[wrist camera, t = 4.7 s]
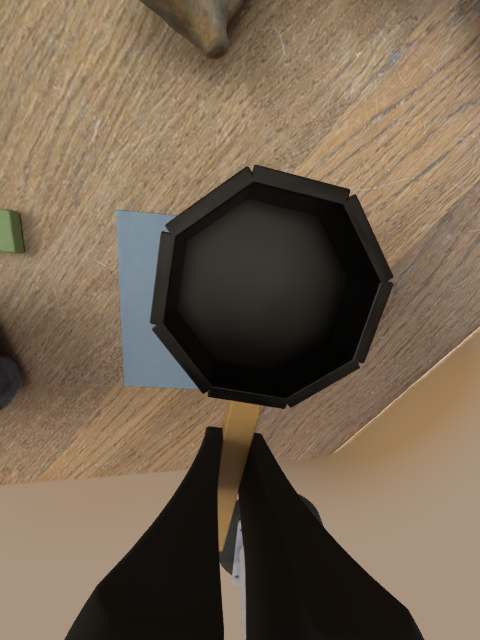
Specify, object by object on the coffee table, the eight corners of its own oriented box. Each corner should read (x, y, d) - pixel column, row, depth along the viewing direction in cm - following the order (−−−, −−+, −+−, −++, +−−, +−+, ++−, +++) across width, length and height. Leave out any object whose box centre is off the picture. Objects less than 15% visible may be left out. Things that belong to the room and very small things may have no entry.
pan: (187, 174, 10) (171, 141, 7) (369, 220, 11) (422, 207, 8) (144, 482, 14) (122, 543, 11) (279, 498, 15) (291, 558, 12)
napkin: (259, 390, 20) (260, 392, 20) (125, 384, 20) (123, 386, 19) (279, 226, 17) (280, 225, 17) (117, 210, 16) (115, 209, 16)
